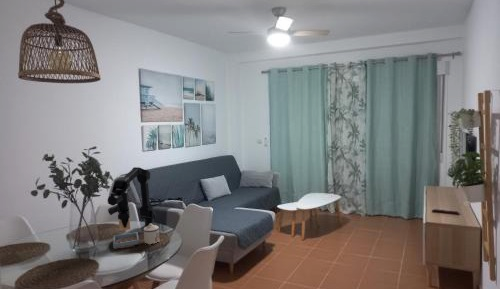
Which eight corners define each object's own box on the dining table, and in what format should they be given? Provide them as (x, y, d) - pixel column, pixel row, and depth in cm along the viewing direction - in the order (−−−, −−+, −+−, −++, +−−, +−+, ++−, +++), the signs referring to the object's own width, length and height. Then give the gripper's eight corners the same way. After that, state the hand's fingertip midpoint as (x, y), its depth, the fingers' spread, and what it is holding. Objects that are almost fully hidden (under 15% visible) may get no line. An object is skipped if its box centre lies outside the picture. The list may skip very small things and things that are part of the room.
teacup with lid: (158, 244, 198) (157, 225, 197) (143, 246, 197) (141, 227, 196) (161, 237, 210) (160, 219, 209) (146, 238, 209) (145, 220, 208)
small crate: (119, 227, 203) (118, 217, 202) (130, 226, 205) (129, 216, 204) (119, 230, 197) (118, 221, 197) (130, 229, 199) (129, 219, 199)
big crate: (114, 241, 206) (113, 235, 206) (138, 237, 211) (137, 231, 211) (113, 250, 193) (113, 244, 193) (139, 245, 198) (138, 239, 198)
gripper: (108, 198, 205) (111, 223, 207) (107, 206, 188) (109, 233, 189) (128, 196, 209) (130, 220, 211) (128, 203, 192) (130, 230, 193)
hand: (124, 225), depth 201 cm, fingers closed on small crate, 6 cm apart
